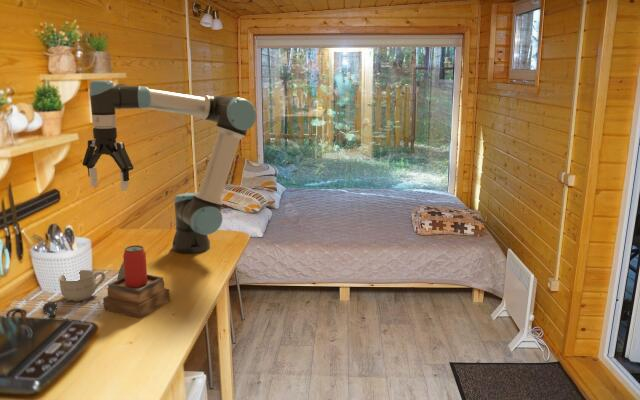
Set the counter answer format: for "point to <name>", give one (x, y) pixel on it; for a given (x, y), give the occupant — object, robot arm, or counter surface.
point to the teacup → (80, 285)
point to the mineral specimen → (121, 271)
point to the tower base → (137, 307)
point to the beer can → (135, 266)
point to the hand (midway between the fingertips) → (109, 188)
